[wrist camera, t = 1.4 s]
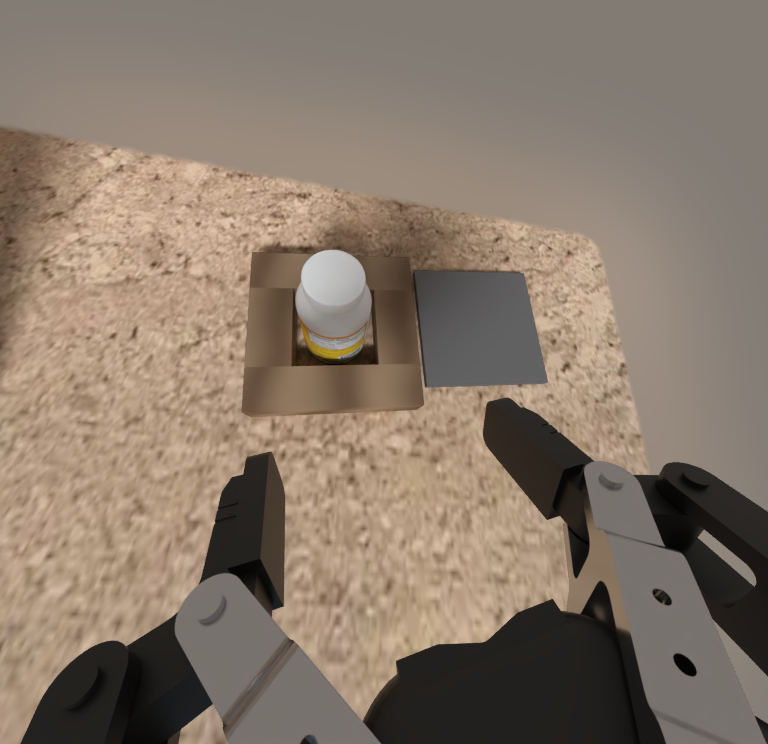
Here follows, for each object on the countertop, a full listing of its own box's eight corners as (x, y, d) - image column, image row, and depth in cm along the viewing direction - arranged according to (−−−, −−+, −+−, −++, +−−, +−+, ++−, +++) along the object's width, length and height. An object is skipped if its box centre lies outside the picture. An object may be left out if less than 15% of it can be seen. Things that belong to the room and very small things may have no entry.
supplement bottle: (317, 303, 28) (306, 228, 19) (371, 321, 29) (386, 255, 20) (296, 355, 27) (274, 298, 18) (354, 372, 27) (363, 327, 18)
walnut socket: (250, 417, 25) (241, 412, 22) (259, 269, 29) (251, 252, 26) (416, 409, 27) (424, 404, 24) (403, 273, 31) (408, 257, 28)
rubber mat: (425, 387, 28) (427, 385, 27) (413, 273, 31) (414, 270, 30) (544, 383, 29) (548, 382, 29) (520, 276, 33) (523, 273, 32)
